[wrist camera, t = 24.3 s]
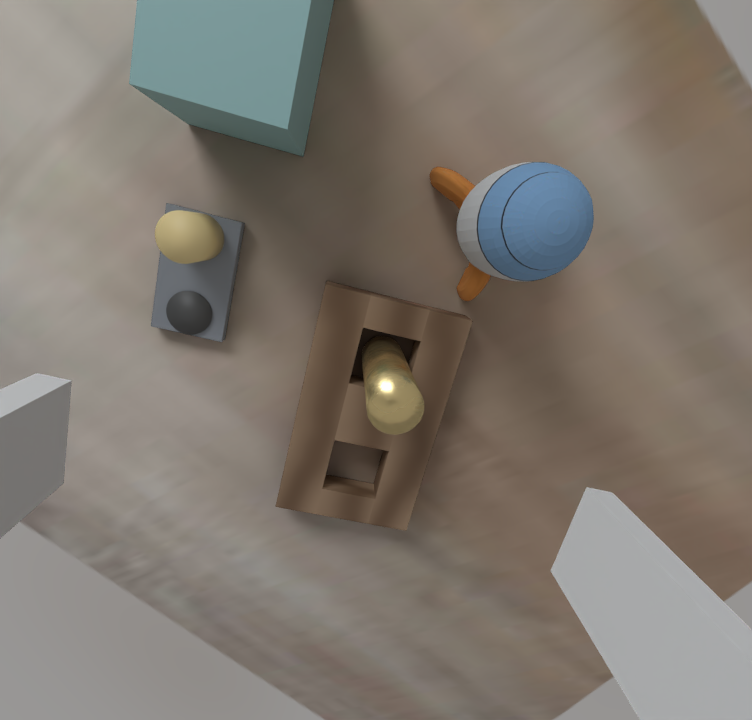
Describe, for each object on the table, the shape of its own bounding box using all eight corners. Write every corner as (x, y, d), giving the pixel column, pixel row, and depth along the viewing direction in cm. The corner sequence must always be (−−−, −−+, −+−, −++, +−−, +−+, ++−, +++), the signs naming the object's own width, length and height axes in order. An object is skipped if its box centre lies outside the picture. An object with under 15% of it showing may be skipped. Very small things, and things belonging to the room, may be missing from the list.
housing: (188, 123, 32) (129, 83, 24) (214, -80, 29) (157, -212, 21) (303, 156, 33) (287, 129, 25) (341, -37, 30) (337, -145, 22)
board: (279, 490, 41) (275, 506, 39) (327, 280, 36) (325, 284, 34) (403, 514, 43) (406, 530, 40) (464, 315, 38) (472, 321, 35)
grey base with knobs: (156, 323, 36) (126, 337, 31) (171, 203, 34) (142, 199, 29) (224, 339, 37) (206, 354, 32) (244, 223, 34) (227, 221, 30)
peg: (357, 369, 38) (360, 428, 27) (367, 331, 37) (374, 374, 26) (395, 378, 39) (415, 439, 27) (406, 340, 38) (431, 387, 26)
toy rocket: (474, 310, 38) (486, 349, 24) (391, 219, 38) (353, 203, 23) (573, 225, 35) (654, 211, 21) (485, 124, 35) (508, 39, 20)
